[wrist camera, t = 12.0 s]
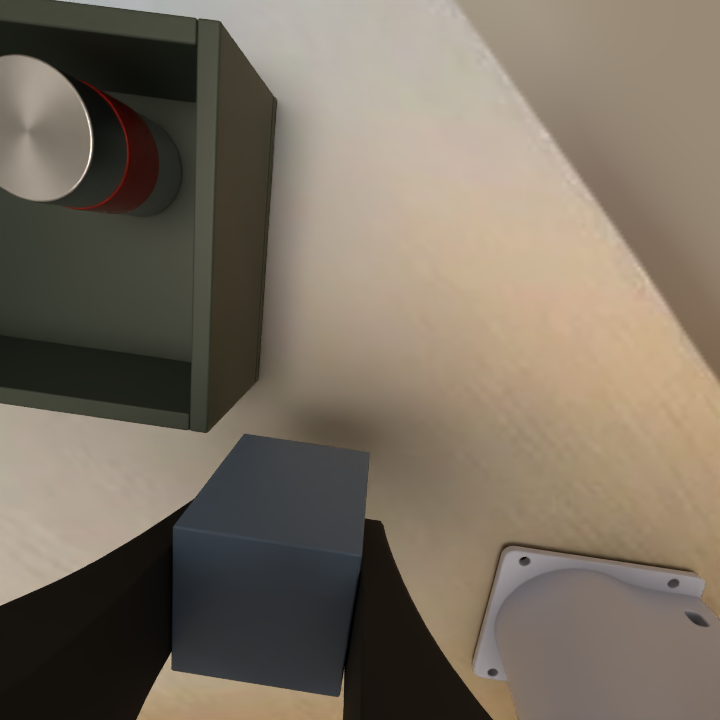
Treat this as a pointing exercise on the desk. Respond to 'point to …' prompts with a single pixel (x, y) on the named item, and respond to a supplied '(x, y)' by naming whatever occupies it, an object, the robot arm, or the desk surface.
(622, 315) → the desk surface
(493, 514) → the desk surface
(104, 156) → the can
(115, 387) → the dark olive open box
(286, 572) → the dark blue rectangular block
